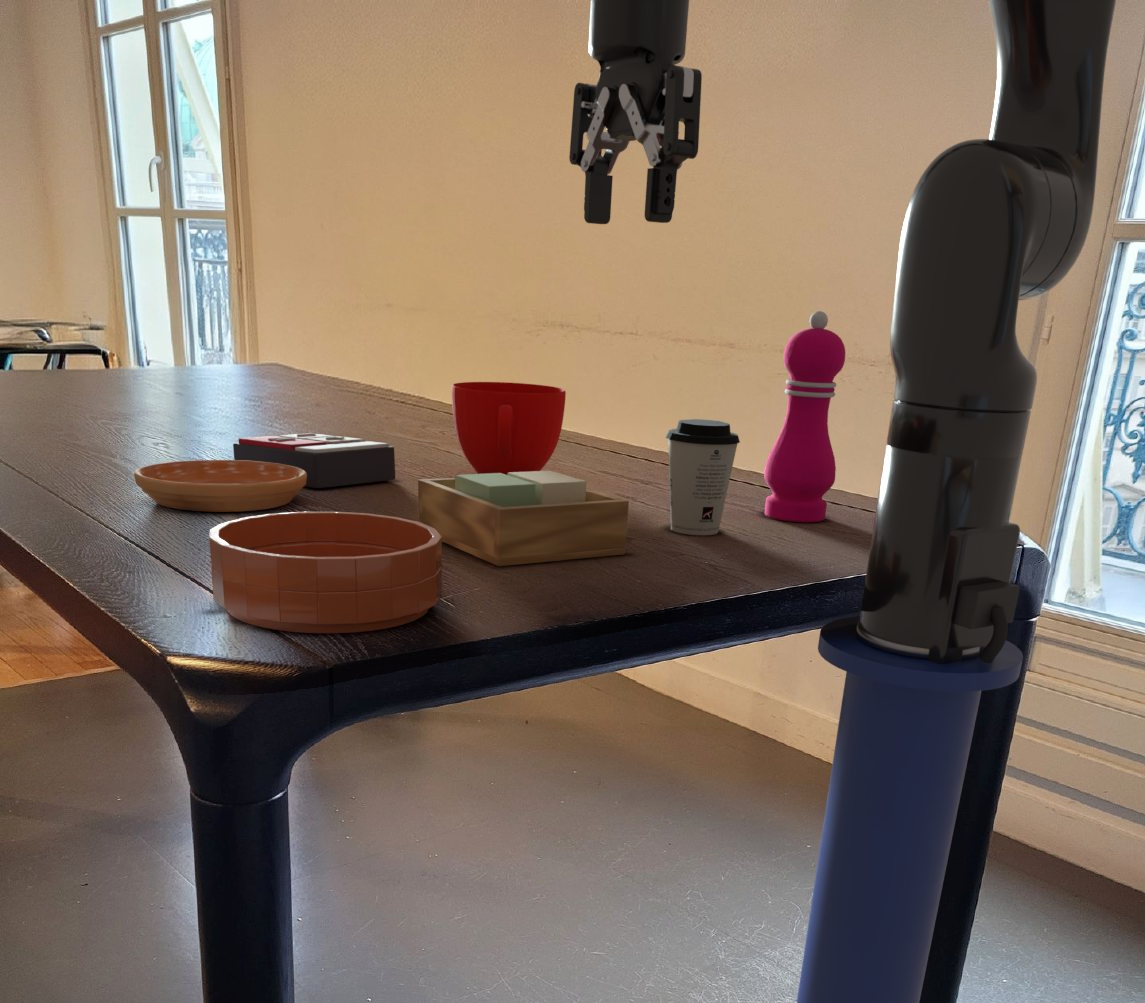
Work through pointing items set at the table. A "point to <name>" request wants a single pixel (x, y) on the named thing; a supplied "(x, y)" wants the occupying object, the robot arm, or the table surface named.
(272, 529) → the bowl
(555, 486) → the block
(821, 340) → the pepper mill
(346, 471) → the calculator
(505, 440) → the ceramic cup
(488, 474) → the packet
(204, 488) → the saucer
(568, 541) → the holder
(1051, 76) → the robot arm
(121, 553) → the table surface
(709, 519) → the coffee cup
